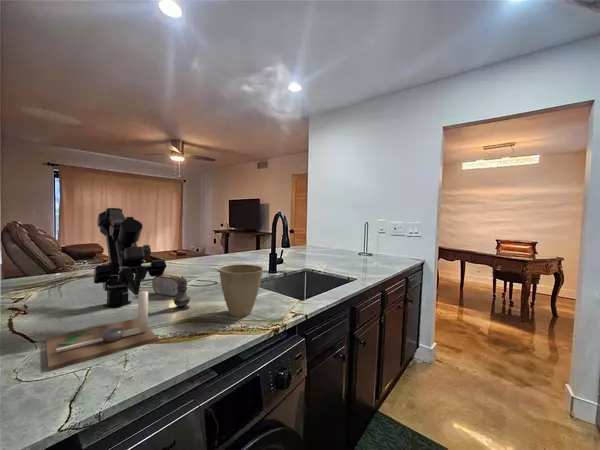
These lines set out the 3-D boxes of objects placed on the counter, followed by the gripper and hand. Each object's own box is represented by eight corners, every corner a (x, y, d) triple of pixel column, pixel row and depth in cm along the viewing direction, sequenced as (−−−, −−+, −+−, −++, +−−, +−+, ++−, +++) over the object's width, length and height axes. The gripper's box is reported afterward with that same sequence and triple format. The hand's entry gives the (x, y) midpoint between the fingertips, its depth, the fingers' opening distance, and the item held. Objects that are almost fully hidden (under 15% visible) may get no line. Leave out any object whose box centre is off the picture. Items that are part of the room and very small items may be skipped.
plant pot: (210, 312, 95) (211, 267, 94) (245, 303, 106) (246, 263, 105) (234, 325, 85) (235, 274, 84) (270, 313, 96) (271, 269, 95)
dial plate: (138, 320, 86) (139, 317, 86) (157, 340, 73) (157, 336, 73) (45, 341, 70) (45, 336, 70) (48, 371, 58) (48, 365, 58)
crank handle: (145, 327, 78) (145, 289, 78) (149, 332, 75) (150, 293, 74) (55, 348, 65) (55, 303, 64) (56, 355, 61) (57, 308, 61)
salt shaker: (183, 311, 95) (184, 277, 94) (169, 310, 96) (169, 276, 96) (193, 306, 100) (194, 274, 100) (179, 304, 102) (180, 273, 101)
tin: (184, 296, 112) (185, 276, 112) (179, 298, 109) (179, 278, 109) (156, 292, 117) (157, 272, 117) (150, 294, 114) (150, 274, 114)
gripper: (95, 237, 77) (101, 283, 69) (165, 235, 90) (176, 274, 82) (90, 261, 83) (96, 306, 75) (157, 256, 96) (167, 294, 88)
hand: (136, 294), depth 80 cm, fingers closed
